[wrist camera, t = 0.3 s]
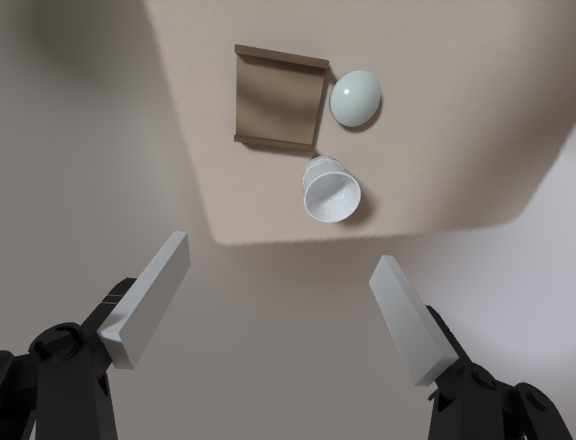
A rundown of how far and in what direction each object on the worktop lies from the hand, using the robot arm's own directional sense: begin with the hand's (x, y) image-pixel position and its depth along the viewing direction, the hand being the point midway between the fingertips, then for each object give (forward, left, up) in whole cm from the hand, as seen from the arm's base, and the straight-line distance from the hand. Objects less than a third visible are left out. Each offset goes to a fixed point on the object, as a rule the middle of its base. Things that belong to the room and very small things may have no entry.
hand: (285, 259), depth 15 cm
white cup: (+2, +7, -26) cm, 27 cm away
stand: (-8, -2, -26) cm, 27 cm away
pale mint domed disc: (-10, +9, -26) cm, 29 cm away
